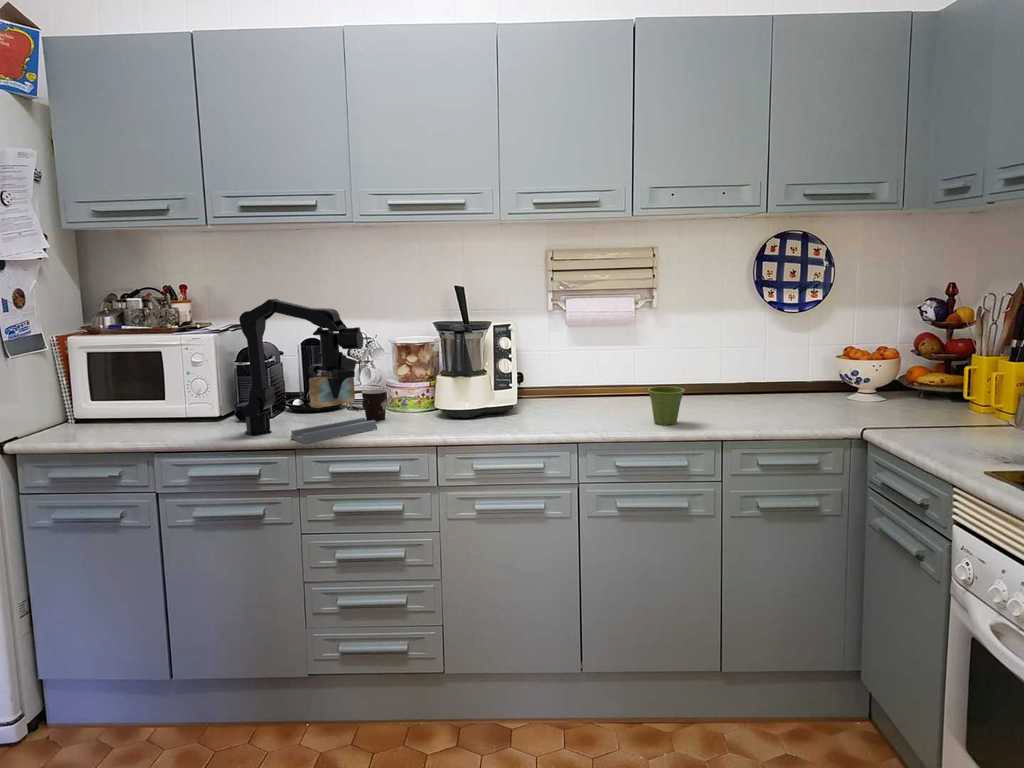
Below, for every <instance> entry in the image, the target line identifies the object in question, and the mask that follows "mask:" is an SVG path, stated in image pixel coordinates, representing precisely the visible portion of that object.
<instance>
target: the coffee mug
mask: <svg viewBox="0 0 1024 768" xmlns="http://www.w3.org/2000/svg"><path fill="white" fill-rule="evenodd" d="M387 394H388V391H387V390H386V389H381V388H380V389H379V388H378V389H376V388H375V389H367V390H366V389H365V390H362V391H361V396H362V402H361V404H362V408H363V410H364V414H365V421H372V420H375V421H377V422H382V421H381V420H383V421H385V420H386V412H387V410H386V409H387V396H388V395H387Z"/></svg>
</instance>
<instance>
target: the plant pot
mask: <svg viewBox="0 0 1024 768" xmlns="http://www.w3.org/2000/svg"><path fill="white" fill-rule="evenodd" d="M647 391H648V392H649V393H648V394H649V398H650V402H651V408H652V416H653V422H654V423H655V424H657V425H660V426H669V425H676V424H677V423H678V417H679V412H680V407H681V401H682V399H683V394H684V392H685V391H686V389H684V388H681V387H677V386H654V387H653V386H652V387H649V388H647Z"/></svg>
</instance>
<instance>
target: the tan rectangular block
mask: <svg viewBox="0 0 1024 768" xmlns="http://www.w3.org/2000/svg"><path fill="white" fill-rule="evenodd" d="M327 378H332V375H331V376H324V377H310V378H308V382H309V383H308V384H309V399H310V401H309V403H310V408H315V409H319V408H325V407H332V406H337V405H343V404H350V403H356V393H355V392H356V390H355V377H351V378H347V379H345V380H344V381H343V383H342V385H341V388H340V392H339V396H338V398H337V399H334V397H333V394H332V391H331V388H330V385H329V382H328V379H327Z"/></svg>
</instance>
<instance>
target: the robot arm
mask: <svg viewBox="0 0 1024 768" xmlns="http://www.w3.org/2000/svg"><path fill="white" fill-rule="evenodd" d="M274 314H280V315H283V316H288V317H292V318H296V319H300V320H305V321H308V322H309V323H311V324H312V325H315V326H317V329H316V330H315V331H313V333H312V335H313V336H319V345H320V347H319V348H320V352H317V354H318V355H317V356H318V357H320V362H321V363H317V364H316V363H315V364H309V367H308V368H307V369H308V374H310V375H315V374H317V375H315V376H314V378H316V377H324V376H331V375H332V378H327V379H328V382H329V385H330V388H331V391H332V394H333V397H334V399H337V398H338V396H339V392H340V388H341V385H342V383H343V381H344V380H345V379H347V378H351V377H354V378H355V377H356V371H355V369H356V365H357V362H358V361H357V360H356V359H353V358H349V357H347V355H344V353H343V351H340V348H341V349H343V350H361V349H362V348H363V346H364V336H363V334H362V331H361V327H360V326H359V327H358V326H357V327H347V325H346V324H345V323H344V322H343V320H342V319H341V316H340V314H339V312H338V310H336V309H334V308H324V307H323V308H322V307H321V308H320V307H317V308H316V307H308V306H305V305H301V304H298V303H297V304H296V303H292V302H289V301H284V300H279V299H278V298H270V299H267V300H266V301H264V302H263V303H262V304H260V305H258V306H256V307H254V308H252V309H251V310H247V311H244V312H243V313H241V315H240V316H239V326H240V329H241V332H242V334H243V335H244V337H245V338H246V343H247V352H248V360H249V361H248V362H249V369H250V370H249V371H250V380H251V384H250V388H249V391H248V401H247V404H246V405H245V406H244V407H243V408H242V410H241V413H242V416H243V418H245V425H246V427H245V428H246V430H245V431H244V433H245V434H247V435H250V436H259V435H263V434H264V435H265V434H270V433H272V430H271V423H270V422H271V421H270V419H271V418H270V417H269V414H268V413H269V412H270V411H271V408H272V406H273V405H274V404H275V399H276V398H277V396H276V395H275V391H276V390H275V386H270V384H269V382H268V378H267V367H266V359H265V348H264V339H263V337H264V334H265V330H266V324H267V323H266V322H267V320H268V319H270V318H272V316H273V315H274Z"/></svg>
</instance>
